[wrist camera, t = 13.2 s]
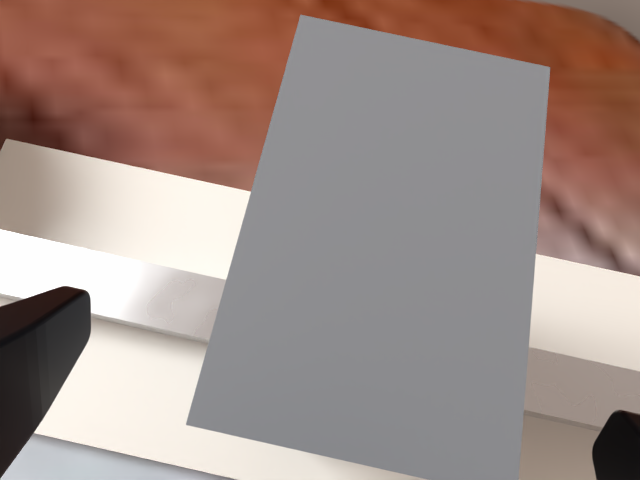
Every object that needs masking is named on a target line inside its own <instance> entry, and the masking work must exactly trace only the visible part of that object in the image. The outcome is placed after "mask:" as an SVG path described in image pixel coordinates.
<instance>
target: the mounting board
mask: <svg viewBox="0 0 640 480" xmlns="http://www.w3.org/2000/svg"><path fill="white" fill-rule="evenodd" d="M250 194H251V192H249V191H245V190H240V189H235V188H231V187H226V186H222V185H217V184H212V183H208V182H203V181H199V180H194V179H189V178H185V177H180V176H176V175H171V174H167V173H162V172H157V171H153V170H148V169H144V168H139V167H134V166H130V165H125V164H121V163H116V162H111V161H107V160H102V159H98V158H93V157H88V156H84V155H79V154H75V153H70V152H66V151H61V150H56V149H52V148H47V147H43V146H38V145H33V144H29V143H24V142H20V141H15V140H10V139H6V140H5V142H4V144H3V146H2V149H1V151H0V230H3V231H8V232H12V233H17V234H21V235H26V236H30V237H35V238H39V239H44V240H49V241H53V242H58V243H62V244H67V245H71V246H76V247H80V248H85V249H89V250H94V251H98V252H103V253H107V254H112V255H116V256H121V257H125V258H130V259H134V260H139V261H143V262H148V263H152V264H157V265H161V266H166V267H171V268H175V269H180V270H184V271H189V272H193V273H198V274H202V275H207V276H211V277H216V278H220V279H225V280H226V279H227V276H228V272H229V268H230V265H231V261H232V258H233V254H234V251H235V247H236V243H237V240H238V236H239V233H240V229H241V226H242V222H243V219H244V215H245V211H246V208H247V204H248V201H249V197H250ZM12 302H15V301H14V300H9V299H5V298H0V306H3V305H6V304H9V303H12ZM207 347H208V344H206V343H201V342H197V341H192V340H188V339H183V338H179V337H174V336H170V335H165V334H161V333H157V332H152V331H148V330H143V329H139V328H134V327H130V326H125V325H121V324H116V323H112V322H107V321H103V320H98V319H94V318H91V334H90V338H89V340H88V343H87V345H86V346H85V348H84V350H83V352H82V353H81V355H80V357H79V359H78V360H77V362H76V364H75V366H74V367H73V369H72V371H71V372H70V374H69V376H68V378H67V379H66V381H65V383H64V385H63V386H62V388H61V390H60V392H59V393H58V395H57V397H56V398H55V400H54V402H53V404H52V405H51V407H50V409H49V410H48V412H47V414H46V415H45V417H44V419H43V420H42V422H41V423H40V424H39V426H38V427H37V429H36V430H35V432H34V433H36V434H41V435H45V436H49V437H54V438H58V439H62V440H67V441H71V442H76V443H80V444H84V445H89V446H93V447H97V448H102V449H106V450H111V451H115V452H119V453H124V454H128V455H132V456H137V457H141V458H146V459H150V460H154V461H159V462H163V463H167V464H172V465H176V466H181V467H185V468H189V469H194V470H198V471H202V472H207V473H211V474H215V475H220V476H224V477H229V478H233V479H237V480H427V479H423V478H419V477H414V476H410V475H405V474H401V473H396V472H392V471H388V470H383V469H379V468H374V467H370V466H365V465H361V464H357V463H352V462H348V461H343V460H339V459H334V458H330V457H326V456H321V455H317V454H312V453H308V452H303V451H299V450H295V449H290V448H286V447H281V446H277V445H272V444H268V443H264V442H259V441H255V440H250V439H246V438H241V437H237V436H233V435H228V434H224V433H219V432H215V431H210V430H206V429H202V428H197V427H193V426H188V425H186V422H187V418H188V414H189V411H190V407H191V404H192V400H193V397H194V393H195V389H196V386H197V382H198V379H199V375H200V372H201V368H202V365H203V361H204V357H205V354H206V350H207ZM529 347H532V348H537V349H541V350H546V351H550V352H555V353H559V354H564V355H568V356H573V357H577V358H582V359H586V360H591V361H595V362H600V363H604V364H609V365H613V366H618V367H622V368H627V369H631V370H636V371H640V277H639V276H635V275H630V274H626V273H621V272H616V271H612V270H607V269H603V268H598V267H593V266H589V265H584V264H580V263H575V262H571V261H566V260H561V259H557V258H552V257H548V256H543V255H538V254H536V259H535V272H534V285H533V298H532V311H531V324H530V337H529ZM599 433H600V432H599V431H594V430H590V429H585V428H581V427H576V426H572V425H567V424H563V423H559V422H554V421H550V420H545V419H541V418H536V417H532V416H527V415H523V428H522V441H521V455H520V468H519V480H596V475H595V470H594V465H593V460H592V448H593V444H594V442H595V440H596V438H597V437H598V435H599Z"/></svg>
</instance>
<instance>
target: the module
mask: <svg viewBox="0 0 640 480" xmlns="http://www.w3.org/2000/svg"><path fill="white" fill-rule="evenodd" d="M549 76H550V67H546V66H542V65H537V64H532V63H527V62H523V61H518V60H513V59H508V58H504V57H499V56H494V55H489V54H485V53H480V52H475V51H470V50H466V49H461V48H456V47H451V46H447V45H442V44H437V43H432V42H428V41H423V40H418V39H413V38H408V37H404V36H399V35H394V34H389V33H385V32H380V31H375V30H370V29H366V28H361V27H356V26H351V25H347V24H342V23H337V22H332V21H328V20H323V19H318V18H313V17H309V16H304V15H301V16H300V19H299V23H298V26H297V30H296V33H295V37H294V40H293V44H292V48H291V51H290V55H289V58H288V62H287V65H286V69H285V73H284V76H283V80H282V83H281V87H280V90H279V94H278V97H277V101H276V105H275V108H274V112H273V115H272V119H271V122H270V126H269V130H268V133H267V137H266V140H265V144H264V147H263V151H262V154H261V158H260V162H259V165H258V169H257V172H256V176H255V179H254V183H253V186H252V190H251V194H250V197H249V201H248V204H247V208H246V211H245V215H244V219H243V222H242V226H241V229H240V233H239V236H238V240H237V243H236V247H235V251H234V254H233V258H232V261H231V265H230V268H229V272H228V276H227V279H226V283H225V286H224V290H223V293H222V297H221V300H220V304H219V308H218V311H217V315H216V318H215V322H214V325H213V329H212V333H211V336H210V340H209V343H208V347H207V350H206V354H205V357H204V361H203V365H202V368H201V372H200V375H199V379H198V382H197V386H196V389H195V393H194V397H193V400H192V404H191V407H190V411H189V414H188V418H187V422H186V425H188V426H193V427H197V428H202V429H206V430H210V431H215V432H219V433H224V434H228V435H233V436H237V437H241V438H246V439H250V440H255V441H259V442H264V443H268V444H272V445H277V446H281V447H286V448H290V449H295V450H299V451H303V452H308V453H312V454H317V455H321V456H326V457H330V458H334V459H339V460H343V461H348V462H352V463H357V464H361V465H365V466H370V467H374V468H379V469H383V470H388V471H392V472H396V473H401V474H405V475H410V476H414V477H419V478H423V479H427V480H519V468H520V455H521V441H522V428H523V415H524V402H525V389H526V376H527V363H528V350H529V337H530V324H531V311H532V298H533V285H534V272H535V259H536V246H537V233H538V220H539V207H540V193H541V180H542V167H543V154H544V141H545V128H546V115H547V102H548V89H549Z"/></svg>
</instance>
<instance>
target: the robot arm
mask: <svg viewBox="0 0 640 480" xmlns="http://www.w3.org/2000/svg"><path fill="white" fill-rule="evenodd" d="M90 334H91V298H90V294H89V292H88V291H86V290H84V289H80V288H75V287H71V286H60V287H57V288H54V289H51V290H48V291H45V292H42V293H39V294H36V295H33V296H30V297H27V298H24V299H21V300H18V301H15V302H12V303H9V304H6V305H3V306H0V478H1V477H2V475H3V474H4V473H5V471H6V470H7V469H8V467H9V466H10V465H11V463H12V462H13V460H14V459H15V458H16V456H17V455H18V454H19V452H20V451H21V449H22V448H23V447H24V445H25V444H26V443H27V441H28V440H29V439H30V437H31V436H32V434H33V433H34V432H35V430H36V429H37V427H38V426H39V424H40V423H41V422H42V420H43V419H44V417H45V415H46V414H47V412H48V410H49V409H50V407H51V405H52V404H53V402H54V400H55V398H56V397H57V395H58V393H59V392H60V390H61V388H62V386H63V385H64V383H65V381H66V379H67V378H68V376H69V374H70V372H71V371H72V369H73V367H74V366H75V364H76V362H77V360H78V359H79V357H80V355H81V353H82V352H83V350H84V348H85V346H86V345H87V343H88V340H89V338H90ZM592 460H593V465H594V470H595V475H596V480H640V414H639V413H634V412H630V411H625V410H616V411H614V412H613V413H612V414H611V415H610V417H609V418H608V420H607V422H606V423H605V425H604V427H603V428H602V430H601V432H600V433H599V435H598V437H597V438H596V440H595V442H594V444H593V448H592Z"/></svg>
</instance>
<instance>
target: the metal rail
mask: <svg viewBox="0 0 640 480" xmlns="http://www.w3.org/2000/svg"><path fill="white" fill-rule="evenodd" d="M225 283H226V280H225V279H220V278H216V277H211V276H207V275H202V274H198V273H193V272H189V271H184V270H180V269H175V268H171V267H166V266H161V265H157V264H152V263H148V262H143V261H139V260H134V259H130V258H125V257H121V256H116V255H112V254H107V253H103V252H98V251H94V250H89V249H85V248H80V247H76V246H71V245H67V244H62V243H58V242H53V241H49V240H44V239H39V238H35V237H30V236H26V235H21V234H17V233H12V232H8V231H3V230H0V298H5V299H9V300H14V301H18V300H21V299H24V298H27V297H30V296H33V295H36V294H39V293H42V292H45V291H48V290H51V289H54V288H57V287H60V286H71V287H75V288H80V289H84V290H86V291H88V292H89V294H90V298H91V318H94V319H98V320H103V321H107V322H112V323H116V324H121V325H125V326H130V327H134V328H139V329H143V330H148V331H152V332H157V333H161V334H165V335H170V336H174V337H179V338H183V339H188V340H192V341H197V342H201V343H206V344H208V343H209V340H210V336H211V333H212V329H213V325H214V322H215V318H216V315H217V311H218V308H219V304H220V300H221V297H222V293H223V290H224V286H225ZM616 410H625V411H630V412H634V413H639V414H640V371H636V370H631V369H627V368H622V367H618V366H613V365H609V364H604V363H600V362H595V361H591V360H586V359H582V358H577V357H573V356H568V355H564V354H559V353H555V352H550V351H546V350H541V349H537V348H532V347H529V350H528V363H527V376H526V389H525V402H524V415H527V416H532V417H536V418H541V419H545V420H550V421H554V422H559V423H563V424H567V425H572V426H576V427H581V428H585V429H590V430H594V431H599V432H601V430H602V428H603V427H604V425H605V423H606V422H607V420H608V418H609V417H610V415H611V414H612V413H613V412H614V411H616Z"/></svg>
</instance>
